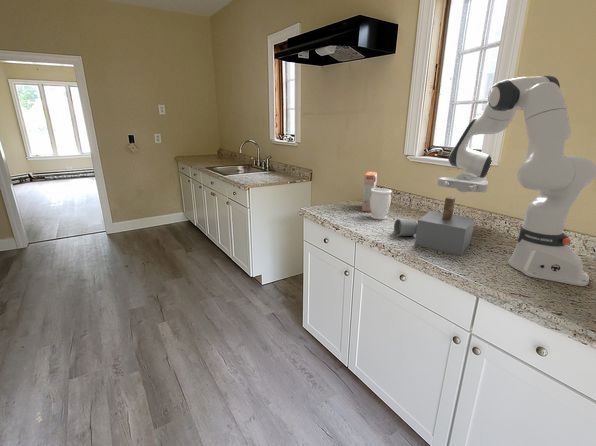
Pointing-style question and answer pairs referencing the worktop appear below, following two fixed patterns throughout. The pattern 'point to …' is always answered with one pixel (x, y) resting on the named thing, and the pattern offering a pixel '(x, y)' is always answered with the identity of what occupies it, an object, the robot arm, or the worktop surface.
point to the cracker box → (368, 189)
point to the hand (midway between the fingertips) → (458, 187)
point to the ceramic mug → (405, 227)
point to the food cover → (445, 230)
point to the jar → (380, 202)
